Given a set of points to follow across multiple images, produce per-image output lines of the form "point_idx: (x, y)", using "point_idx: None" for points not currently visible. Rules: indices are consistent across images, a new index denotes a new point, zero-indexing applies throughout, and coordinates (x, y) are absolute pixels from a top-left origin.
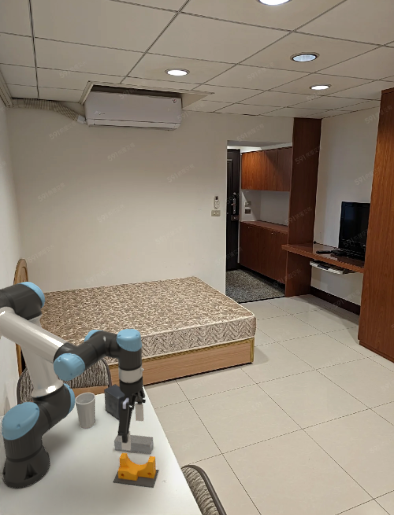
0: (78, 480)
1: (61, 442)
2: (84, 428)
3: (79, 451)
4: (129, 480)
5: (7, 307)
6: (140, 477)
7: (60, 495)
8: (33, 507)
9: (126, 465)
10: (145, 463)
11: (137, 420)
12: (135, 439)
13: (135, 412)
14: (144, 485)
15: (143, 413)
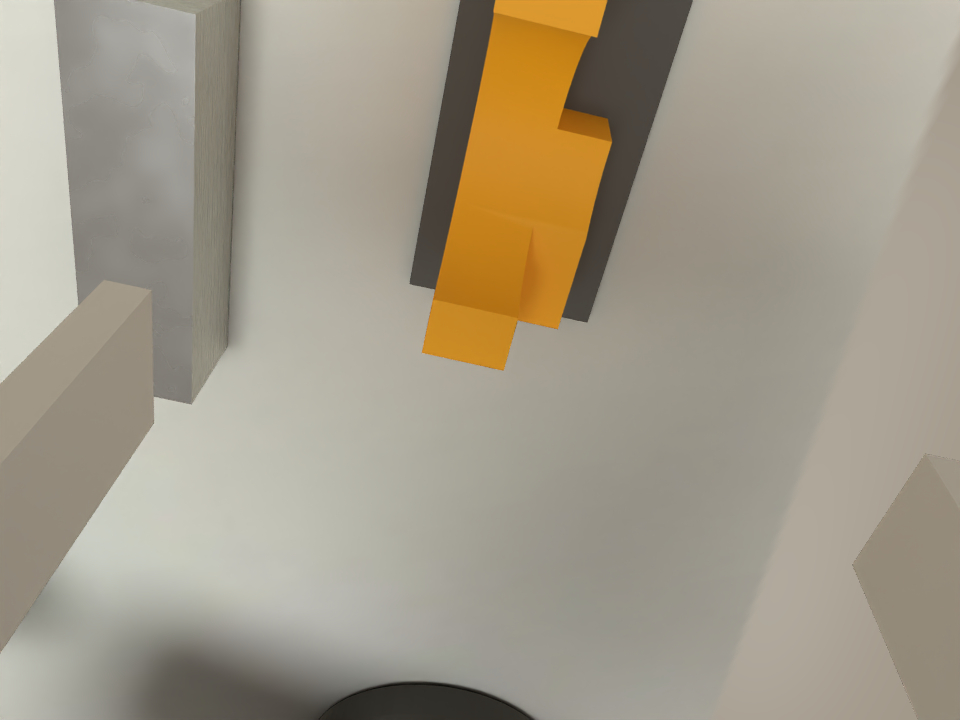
0: (534, 535)
1: (200, 665)
2: None
3: (268, 567)
4: None
5: None
6: (573, 81)
7: (643, 602)
8: (700, 694)
9: (525, 264)
10: (488, 51)
11: (149, 398)
12: (135, 204)
13: (58, 561)
14: (681, 28)
15: (12, 375)
